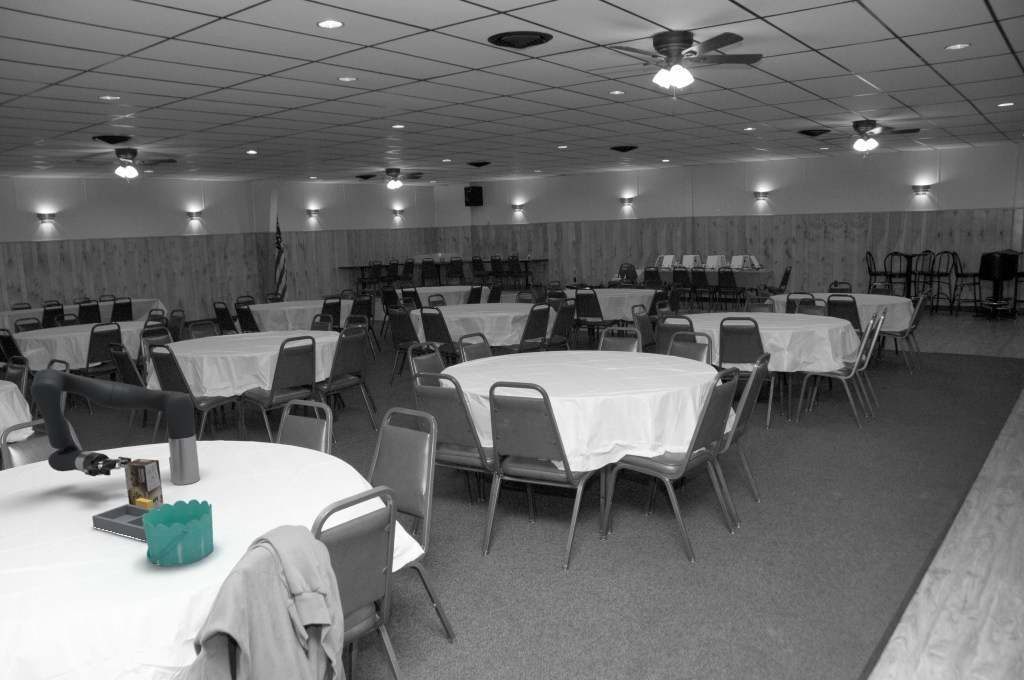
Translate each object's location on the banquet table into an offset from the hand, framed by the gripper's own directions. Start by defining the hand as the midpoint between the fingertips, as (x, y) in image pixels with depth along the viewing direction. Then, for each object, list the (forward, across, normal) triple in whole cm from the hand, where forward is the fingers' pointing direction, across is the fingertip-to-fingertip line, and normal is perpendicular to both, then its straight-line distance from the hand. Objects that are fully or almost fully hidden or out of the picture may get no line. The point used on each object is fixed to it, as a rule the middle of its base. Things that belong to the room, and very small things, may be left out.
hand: (121, 468), depth 266 cm
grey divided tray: (+27, -12, +12) cm, 31 cm away
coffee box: (+11, 0, +12) cm, 17 cm away
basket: (+55, -20, +12) cm, 60 cm away
